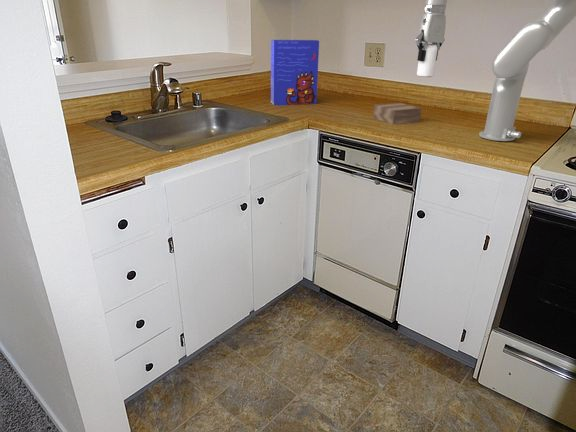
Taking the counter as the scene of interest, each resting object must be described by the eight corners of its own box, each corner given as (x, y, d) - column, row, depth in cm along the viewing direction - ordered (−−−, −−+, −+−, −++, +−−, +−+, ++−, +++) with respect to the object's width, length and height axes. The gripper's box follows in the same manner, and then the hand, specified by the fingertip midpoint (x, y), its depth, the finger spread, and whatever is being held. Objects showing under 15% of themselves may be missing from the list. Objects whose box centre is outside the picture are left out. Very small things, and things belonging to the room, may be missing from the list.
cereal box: (312, 103, 222) (315, 39, 209) (316, 105, 216) (319, 40, 204) (270, 104, 216) (271, 39, 204) (273, 106, 211) (274, 39, 199)
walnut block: (419, 122, 185) (421, 108, 183) (392, 125, 180) (394, 110, 177) (398, 116, 197) (399, 102, 194) (372, 118, 191) (374, 104, 189)
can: (433, 77, 172) (439, 45, 167) (416, 76, 173) (421, 44, 168) (432, 75, 177) (437, 44, 172) (415, 74, 179) (420, 43, 174)
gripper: (427, 10, 158) (419, 62, 165) (457, 11, 167) (448, 61, 174) (411, 9, 164) (404, 60, 171) (441, 11, 172) (434, 59, 180)
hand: (427, 60), depth 173 cm, fingers closed on can, 6 cm apart
